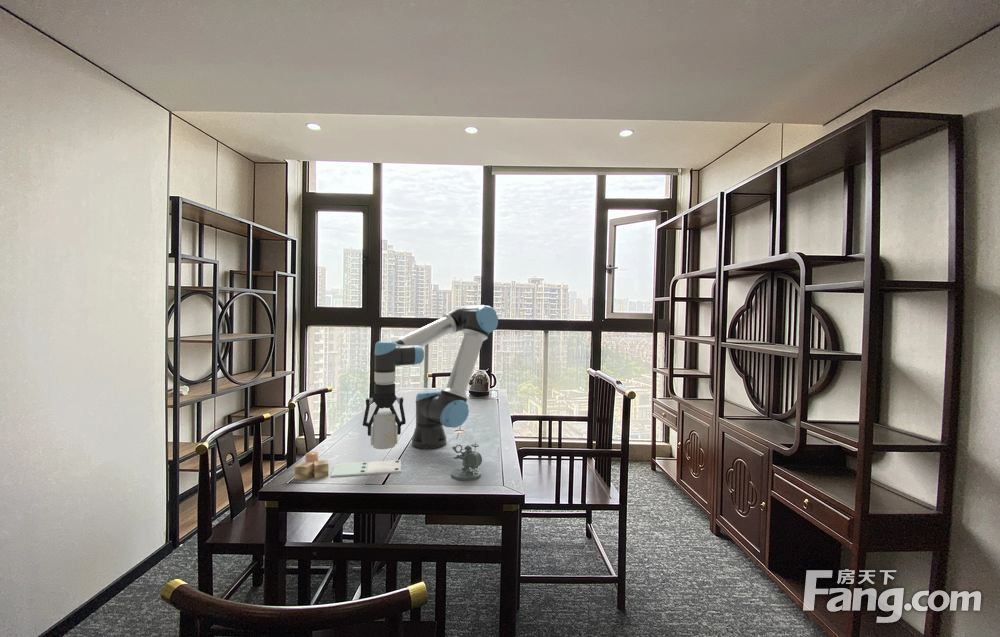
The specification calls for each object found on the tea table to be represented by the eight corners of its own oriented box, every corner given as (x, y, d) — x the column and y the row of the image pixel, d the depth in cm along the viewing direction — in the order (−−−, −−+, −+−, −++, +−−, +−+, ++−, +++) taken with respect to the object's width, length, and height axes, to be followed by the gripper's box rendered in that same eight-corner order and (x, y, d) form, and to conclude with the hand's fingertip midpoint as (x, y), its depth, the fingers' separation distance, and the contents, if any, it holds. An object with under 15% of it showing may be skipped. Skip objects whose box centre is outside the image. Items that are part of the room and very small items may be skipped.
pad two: (401, 461, 175) (401, 459, 175) (400, 472, 164) (400, 470, 164) (369, 463, 173) (369, 461, 173) (366, 474, 161) (366, 472, 161)
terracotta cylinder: (319, 467, 168) (319, 451, 168) (317, 471, 164) (317, 455, 164) (306, 467, 167) (306, 451, 167) (304, 472, 163) (304, 455, 163)
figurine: (462, 468, 169) (463, 436, 169) (487, 473, 163) (487, 441, 163) (445, 477, 160) (445, 443, 159) (470, 483, 154) (470, 448, 154)
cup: (389, 449, 163) (389, 416, 163) (368, 448, 165) (369, 415, 164) (399, 443, 171) (399, 411, 171) (379, 441, 173) (379, 410, 172)
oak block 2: (327, 472, 164) (327, 459, 164) (328, 476, 160) (328, 463, 160) (314, 473, 162) (314, 461, 162) (314, 478, 158) (314, 465, 158)
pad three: (369, 463, 173) (369, 461, 173) (366, 474, 161) (366, 472, 161) (336, 465, 170) (336, 463, 170) (331, 477, 159) (331, 474, 159)
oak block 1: (313, 475, 160) (313, 462, 160) (307, 480, 156) (307, 467, 156) (301, 474, 161) (301, 462, 161) (294, 479, 157) (294, 466, 156)
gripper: (413, 380, 173) (412, 439, 174) (356, 381, 169) (355, 442, 169) (413, 384, 166) (413, 445, 166) (354, 385, 161) (353, 448, 162)
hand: (384, 443), depth 168 cm, fingers closed on cup, 8 cm apart
